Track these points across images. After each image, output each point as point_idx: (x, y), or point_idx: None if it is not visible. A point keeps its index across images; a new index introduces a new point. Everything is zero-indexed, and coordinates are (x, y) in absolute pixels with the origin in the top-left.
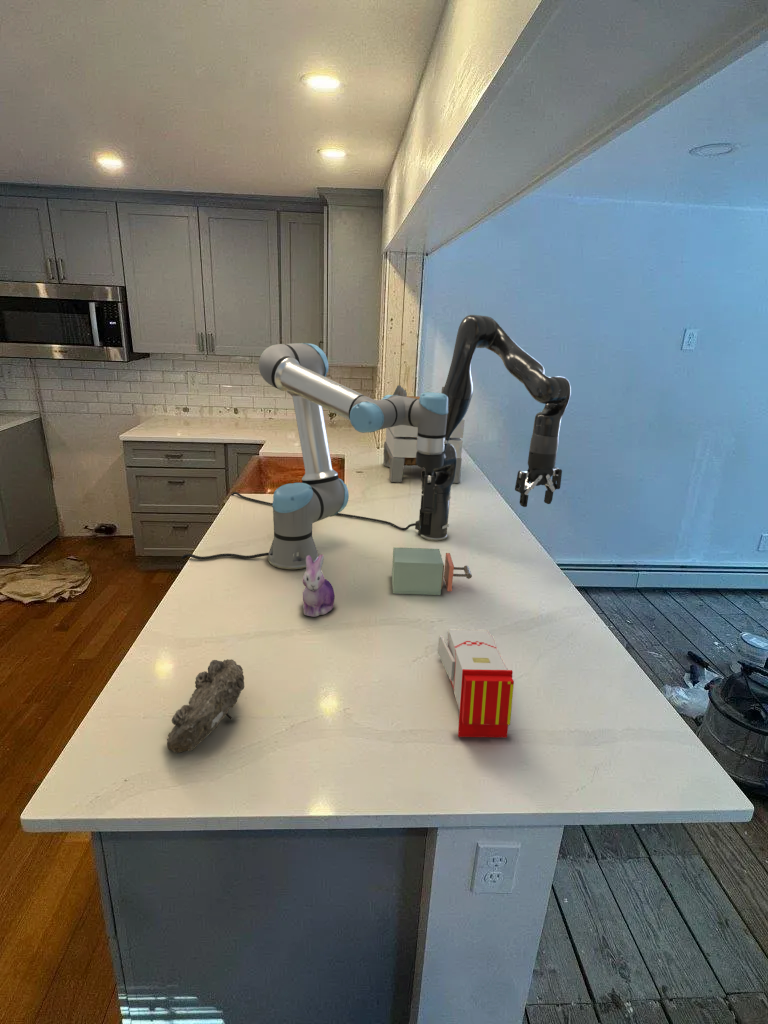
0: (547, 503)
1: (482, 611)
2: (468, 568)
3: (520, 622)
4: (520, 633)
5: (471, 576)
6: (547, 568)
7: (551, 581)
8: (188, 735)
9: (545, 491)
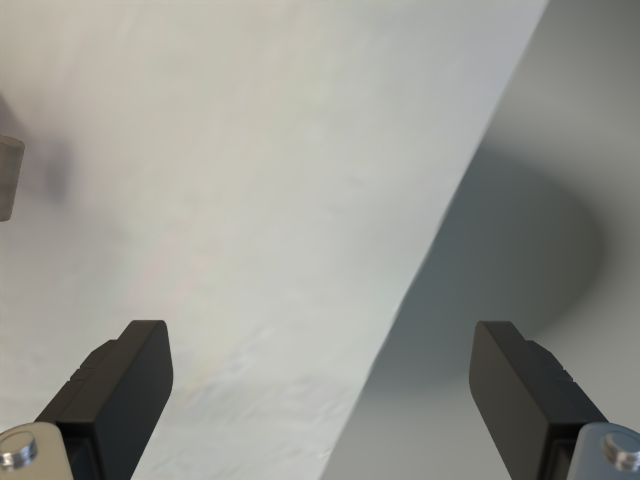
0: (470, 370)
1: (43, 319)
2: (2, 171)
3: None
4: None
5: (6, 219)
6: (469, 132)
7: (396, 231)
8: None
9: (538, 406)
